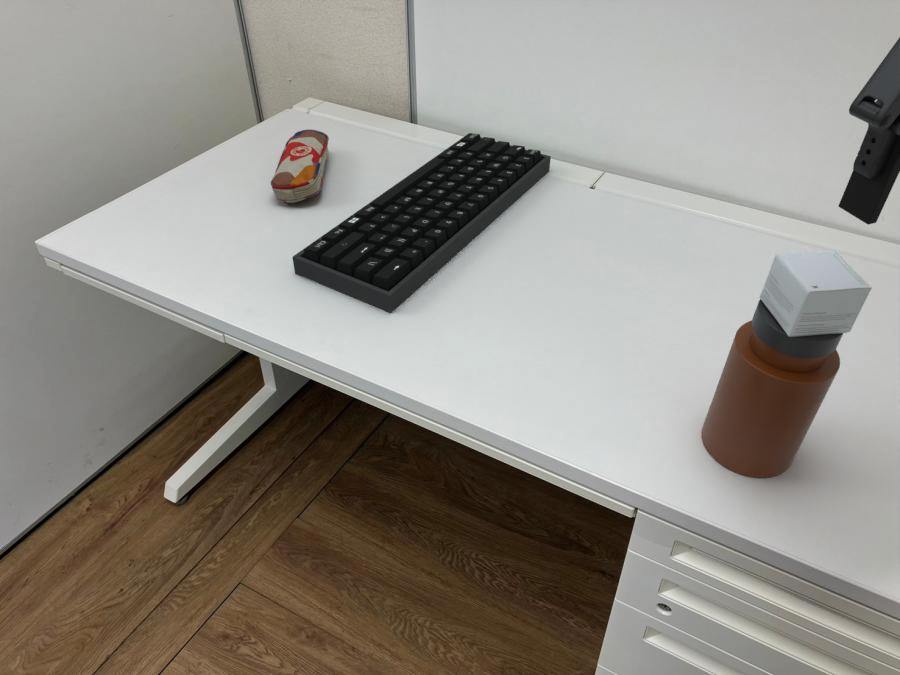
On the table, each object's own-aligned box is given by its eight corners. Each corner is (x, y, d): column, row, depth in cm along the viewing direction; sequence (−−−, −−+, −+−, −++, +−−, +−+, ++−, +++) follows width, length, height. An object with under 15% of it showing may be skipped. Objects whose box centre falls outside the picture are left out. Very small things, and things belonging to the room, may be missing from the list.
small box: (851, 333, 59) (875, 287, 56) (787, 339, 58) (807, 291, 55) (816, 293, 63) (836, 247, 60) (756, 297, 63) (773, 251, 60)
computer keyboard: (467, 148, 123) (468, 127, 121) (549, 171, 117) (551, 149, 114) (295, 273, 94) (291, 249, 92) (390, 313, 88) (389, 288, 85)
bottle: (812, 463, 70) (881, 334, 59) (738, 489, 68) (796, 358, 57) (753, 402, 76) (806, 275, 65) (683, 423, 74) (725, 295, 63)
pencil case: (247, 202, 108) (241, 173, 105) (296, 148, 123) (292, 120, 120) (314, 211, 107) (310, 181, 103) (356, 154, 121) (354, 127, 118)
